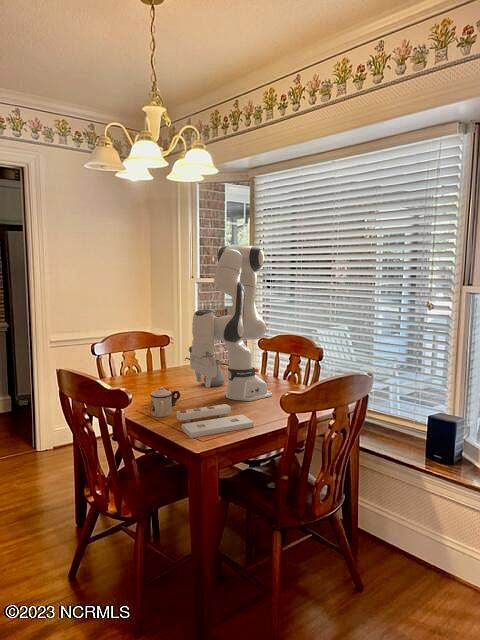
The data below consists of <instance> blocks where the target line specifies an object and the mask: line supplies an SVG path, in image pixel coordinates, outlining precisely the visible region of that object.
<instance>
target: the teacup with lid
mask: <svg viewBox="0 0 480 640" xmlns="http://www.w3.org/2000/svg"><path fill="white" fill-rule="evenodd" d="M166 389H167V388H166ZM166 389H165V388H164V386H159V387H158V388H157V389H155V390H153V391H151V392H150V393H149V396H150V415H151V416H153V417H156V418H163V417H168V416H170V415H172V412H173V411H172V410H173V409H172V407H173V406H172V402H171V395H172V393H171V392H172V391H170V390H169V391H168V390H166Z"/></svg>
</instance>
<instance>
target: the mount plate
mask: <svg viewBox="0 0 480 640" xmlns="http://www.w3.org/2000/svg"><path fill="white" fill-rule="evenodd" d="M254 427H255V421H254V420H252V419H250V417H249V418H248V417H247V416H245V415H244V414H238V415H231V416H225V417H221V418H219V417H216V418H212V419H206V420H200V421H193V422H189V423H186V422H185V423H181V430H182V432H184V433H185V434H186V435H187V436H188V437H189V438H190V439H192V438H199V437H204V436H209V435H210V436H211V435H215V434H221V433H227V432H233V431H238V430H243V429H249V428H250V429H251V428H254Z"/></svg>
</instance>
